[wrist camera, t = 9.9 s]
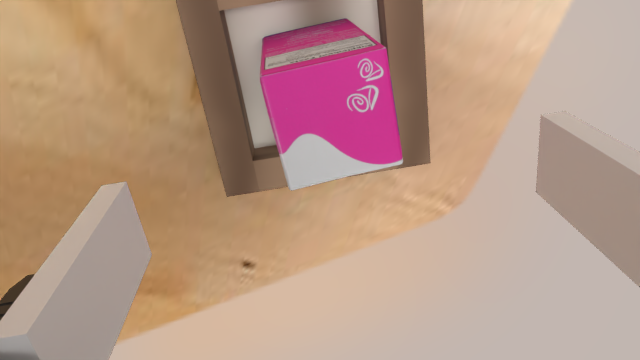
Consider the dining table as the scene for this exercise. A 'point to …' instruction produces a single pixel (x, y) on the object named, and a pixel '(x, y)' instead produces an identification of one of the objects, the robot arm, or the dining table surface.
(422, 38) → the socket block
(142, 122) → the dining table surface
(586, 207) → the robot arm
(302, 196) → the dining table surface
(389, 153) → the supplement box
